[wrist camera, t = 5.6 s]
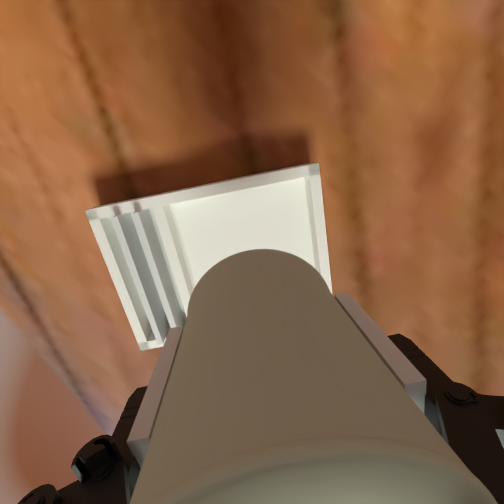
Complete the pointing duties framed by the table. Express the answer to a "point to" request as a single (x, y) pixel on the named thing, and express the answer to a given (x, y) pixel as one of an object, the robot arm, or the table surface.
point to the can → (289, 403)
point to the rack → (204, 239)
